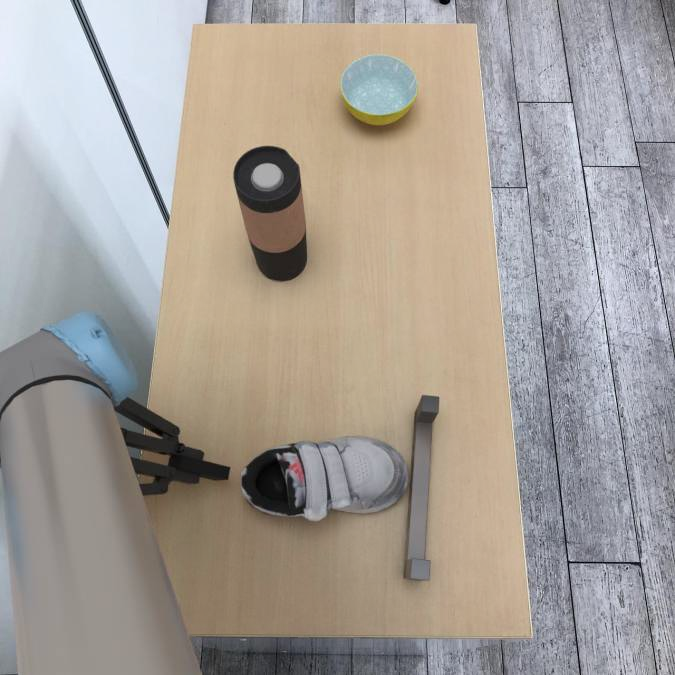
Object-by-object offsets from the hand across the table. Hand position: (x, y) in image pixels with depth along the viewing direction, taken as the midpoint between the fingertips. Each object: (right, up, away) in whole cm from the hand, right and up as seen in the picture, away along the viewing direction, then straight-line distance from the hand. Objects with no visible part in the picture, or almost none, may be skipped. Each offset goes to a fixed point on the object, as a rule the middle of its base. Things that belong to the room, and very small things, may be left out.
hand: (222, 473), depth 73 cm
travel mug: (+6, +27, +15) cm, 31 cm away
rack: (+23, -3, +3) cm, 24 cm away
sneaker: (+12, -2, +4) cm, 13 cm away
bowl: (+20, +51, +24) cm, 60 cm away
